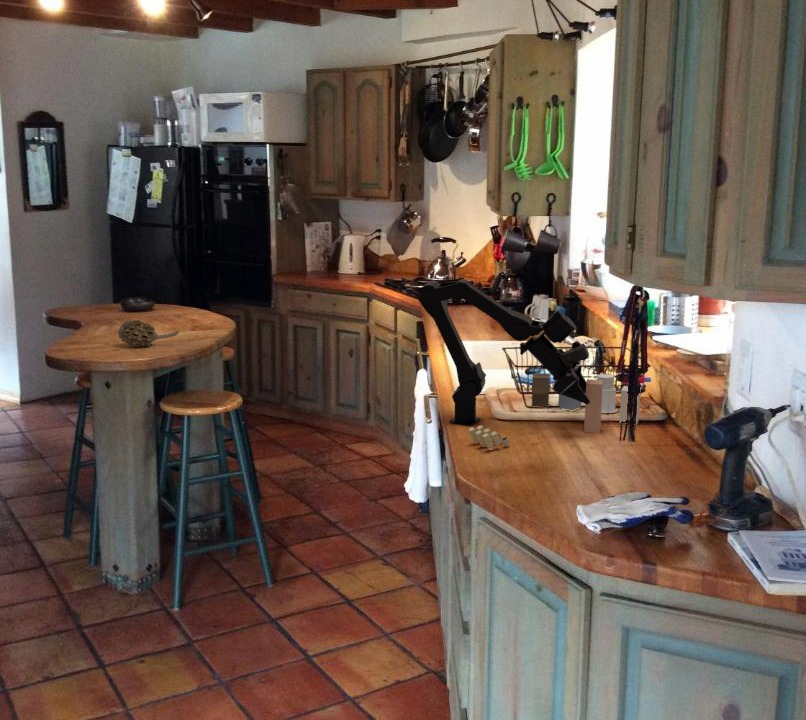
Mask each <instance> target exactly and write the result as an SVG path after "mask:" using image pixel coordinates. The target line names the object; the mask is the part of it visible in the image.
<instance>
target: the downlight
mask: <svg viewBox="0 0 806 720" xmlns="http://www.w3.org/2000/svg"><path fill="white" fill-rule="evenodd" d="M596 380H603V387H602V408H601V414H606V413H609V414H612V413H613V414H614V413H617V412H618V408H616V400H617V399H616V397H617V396H616V395H617V387H615V375H613V374H608V373H605V374H604V373H602V374H597V375H596ZM615 408H616V409H615Z"/></svg>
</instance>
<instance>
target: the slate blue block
mask: <svg viewBox="0 0 806 720" xmlns="http://www.w3.org/2000/svg"><path fill="white" fill-rule="evenodd" d="M557 406H560V407H562V408H565V409H569V410H574V409H576V408H578V407H581V408H582V402H580V401H577V400H575V399H572V398H569V397H567V396H564V395H560V394H559V395H558V405H557Z"/></svg>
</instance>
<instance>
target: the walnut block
mask: <svg viewBox="0 0 806 720" xmlns="http://www.w3.org/2000/svg"><path fill="white" fill-rule="evenodd" d="M550 375H551V374H550V373H541V372H540V373H539V372H537V373H536V372H533V374H532V383H531V384H532V386H531V387H532V390H531V391H532V392H531V394H532V395H531V407H532V406H548V407H549V405H548V403H550V401H549V400H550Z"/></svg>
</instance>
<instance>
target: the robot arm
mask: <svg viewBox="0 0 806 720" xmlns="http://www.w3.org/2000/svg"><path fill="white" fill-rule="evenodd" d="M455 298H462V299H463V300H465V301H466V302H467V303H469V304H470V305H472V306H473V307H475V308H477V310H479V311H481V312H483V313H484V314H485V315H487V316H488V317H489V318H492V319H493V320H494V321H495V322H497V324H499V326H501V328H502V330H504V332H506V333H507V334H508V336H510V337H511V338H512V340H515V341H518V342H520V344H519V347H520V352H519V354H520V355H521V356H522V355H524V354H525V353H526V352H527V351H528V352H529V353H530V354H531V355H532V356H533V357H534V358H535V359H536V361H538V362H539V364H541V368H542V369H543V370H544V371H545V370H546V371H547V372H548V374H550V375H551V376H552V380H553V381H554V382H553V384H552V385H553V391H554V392H555V393H556V394H557V395H558V396H559V394H560V395H564V396H567V397H569V398H572V399H575V400H577V401H580V402H581V404H584V405H585V404H589V403H590V400H589V399H588V397H587V396H586V382H587V380H586V379H585V377H584V375H583V374H582V368H583V367H582V366H583V365H582V363H581V361H585V360H587V359H589V356H590V354H589V351H588V349H587V346H586V345H585V343H581V342H580V341H579V340H576V341H573V342H572V344H571V348H569V349H568V350H563V348H557V346H555V345H554V344H556V343H559V344H561V343H562V342H563V341H565V340H566V339H567V338H568V337H569V336H570V335H571V334H572V333H574V331H575V332H576V330H577V326H576V324H575V323H574V322H573V320H572V319H571V318H570V317H569V316H567V315H565V314H564V313H563V312H561V310H559V309H557V310H555V311H554V313H553V314H552V315H551V316H550V317H549V318H548V319H547V320H546V321H540V320H536V319H534V320H533V319H532V318H531V317H530V316H528V315H526V314H524V313H522V312H519V311H517V310H513V309H510V308H508V307H506V306H504V305H503V304H501V303H500V302H498V301H497V300H495V299H494V298H492V297H491V296H489V295H488V294H486V293H485V292H483V291H482V290H481V289H480V288H477V287H476V286H474V285H473V284H472V283H470V281H469V280H467V279H464V278H463V279H459V280H455V281H454V280H453V281H446V282H441V283H439V282H437V281H428V282H427V283H425V284H424V285H423V286H421V287H420V289H419V290H418V293H417V300H418V303H420V305H421V306H422V307H423V309H424V310H425V312H426V313H427V314H428V315H429V316H430V317H431V319H432V320H433V321H434V322H435V325H436V327H437V329H438V331H439V333H440V337H442V338H441V339H442V340H443V342H444V345H445V346H446V348H447V351H448V353H449V355H450V356H451V360H452V361H453V364H454V366H455V368H456V377H457V381H458V384H459V385H458V386H457V387H456V389H455V390H454V392H453V394H452V395H451V398H452V400H453V403H454V417H453V418H451V419H449V423H450V424H451V423H452V424H458V425H463V426H468V427H469V426H470V427H472V426H473V425H475V424H477V423H478V422H480V421H481V420H482V417H478V416H477V397H478V396H480V394H481V393H482V391H483V389H484V388H485V385H486V376H487V374H486V373H485V371H484V370H483V368H482V367H483V366H482V365H481V362H479V361H478V362H476V363H475V362H474V361H473V360H472V359H471V358H470V355H469V354H468V351H467V350H466V346H465V344H464V343H463V341H462V339H461V336H460V334H459V332H458V329H457V328H456V326H455V324H454V321H453V319H452V317H451V314H450V313H449V310H448V300H451V299H455ZM523 341H526V342H523ZM553 343H554V344H553Z"/></svg>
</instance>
